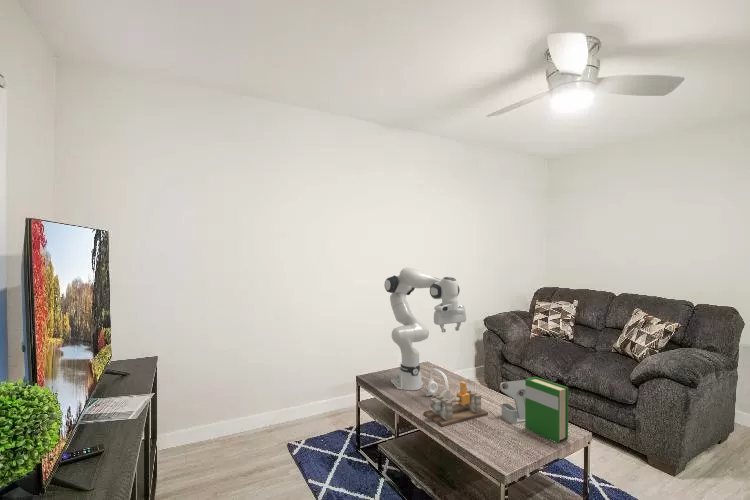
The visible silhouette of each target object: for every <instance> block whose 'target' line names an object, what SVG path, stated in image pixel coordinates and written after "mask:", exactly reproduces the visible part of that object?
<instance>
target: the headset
mask: <svg viewBox="0 0 750 500" xmlns="http://www.w3.org/2000/svg"><path fill="white" fill-rule="evenodd" d="M434 373H436V374H437V375H439V376H440V377H442V378H443V380H444V383H445V390H443V391H441V393H440V394H439V396H442V397H443V399H445V398H446V399H452V394H451V390H450V386H449V385H450V384H449V381H448V378H447V375H446V374H445V373H444V372H443V371H441V370H440V369H438V368H433V369H431V371H430V374H429V379H428V384H427V392H428V393H427V394H425V396H426V397H429V396H432V394H436V393H437V392H438V390H439V385H438V383H437V382H436V381H434V380H435V379H434Z"/></svg>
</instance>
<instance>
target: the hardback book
mask: <svg viewBox="0 0 750 500" xmlns="http://www.w3.org/2000/svg"><path fill="white" fill-rule="evenodd" d="M524 380H525V422H524V425H525V429H527V430H528V431H531V432H533V433H535V434H537V435H538V436H541V435H542V437H543V436H544V438H545V437H546V439H548V440H550V439H551V440H550V441H552V440H553V441H552V442H554V441H555V442H554V443H556V442H558V443H557V444H560V441H561V440H564V438H566V439H568V440H569V387H568V386H565V385H562V384H558V383H556V382H553V381H549V380H548V379H547V380H546V379H544V378H540V377H538V376H533V377H528V378H526V379H524ZM566 439H565V440H566Z"/></svg>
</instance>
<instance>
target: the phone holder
mask: <svg viewBox="0 0 750 500" xmlns="http://www.w3.org/2000/svg"><path fill="white" fill-rule="evenodd" d="M503 384H504V386H505V389H504V388H503ZM499 388H500V391H501V393H504V394H505V395H506V396H508V397H510V398H511V399H513V402H514V405H515V407H514V406H513V405H512V404H509V403H506V402H505V403H501V415H500V417H501V418H502V419H503V420H505V421H506V422H508V423H509V424H522V423H525V379H522V380H521V379H520V380H512V381H504V382H500V384H499ZM520 392H522V395H520Z"/></svg>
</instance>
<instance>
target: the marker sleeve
mask: <svg viewBox="0 0 750 500" xmlns="http://www.w3.org/2000/svg"><path fill="white" fill-rule="evenodd" d="M459 383H460V384H459V386H460V387H459V390H460V391H459V392H456V397H461V401H457V402H456V403H457V404H459V403H460V404H462V405H465V404H469V403H470V394H468V393H466V388H467V382H465V381H463V380H462V381H460V382H459Z"/></svg>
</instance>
